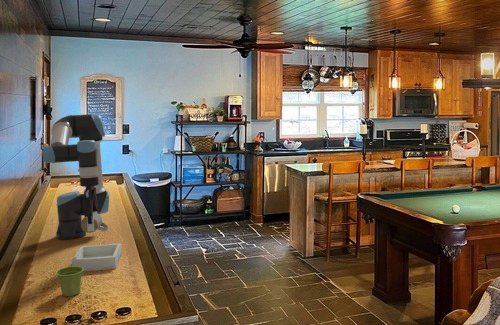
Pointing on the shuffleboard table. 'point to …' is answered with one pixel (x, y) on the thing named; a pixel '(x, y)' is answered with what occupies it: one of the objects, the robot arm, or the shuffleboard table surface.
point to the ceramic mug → (96, 223)
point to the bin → (98, 257)
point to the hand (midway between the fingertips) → (93, 228)
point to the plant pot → (70, 280)
